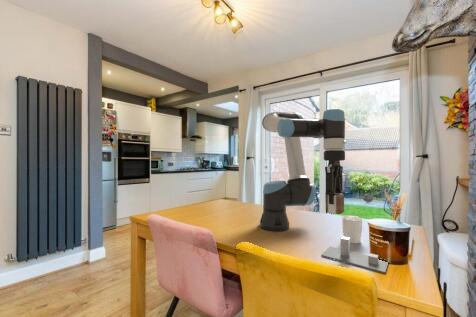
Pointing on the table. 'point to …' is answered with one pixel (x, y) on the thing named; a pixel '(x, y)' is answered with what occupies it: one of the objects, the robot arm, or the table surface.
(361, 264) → the stand
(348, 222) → the white cup
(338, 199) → the brown wooden block
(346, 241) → the post
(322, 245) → the table surface
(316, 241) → the table surface
